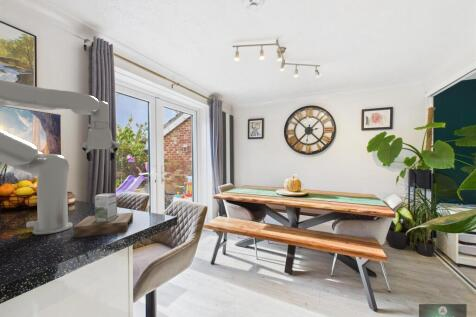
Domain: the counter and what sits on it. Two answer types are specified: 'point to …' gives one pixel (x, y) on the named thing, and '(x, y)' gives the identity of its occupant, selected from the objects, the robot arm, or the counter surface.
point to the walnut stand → (102, 226)
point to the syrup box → (105, 207)
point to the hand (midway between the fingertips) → (101, 160)
